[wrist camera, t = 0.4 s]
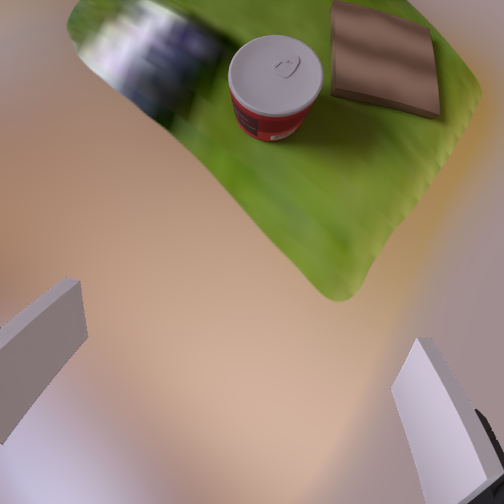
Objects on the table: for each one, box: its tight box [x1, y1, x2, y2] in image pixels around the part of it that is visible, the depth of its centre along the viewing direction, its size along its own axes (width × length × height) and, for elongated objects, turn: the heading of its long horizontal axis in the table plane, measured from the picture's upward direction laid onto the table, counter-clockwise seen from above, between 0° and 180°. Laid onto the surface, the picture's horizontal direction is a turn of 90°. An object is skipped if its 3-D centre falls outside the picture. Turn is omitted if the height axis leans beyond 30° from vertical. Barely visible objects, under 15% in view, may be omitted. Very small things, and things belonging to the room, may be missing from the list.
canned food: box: [228, 35, 323, 141], centre depth 27 cm, size 8×8×11 cm
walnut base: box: [330, 0, 440, 119], centre depth 29 cm, size 14×14×2 cm
